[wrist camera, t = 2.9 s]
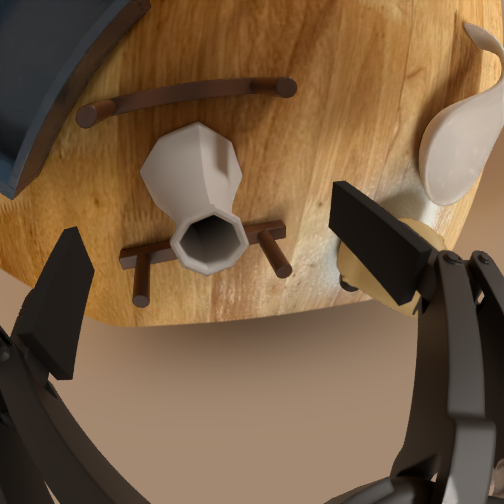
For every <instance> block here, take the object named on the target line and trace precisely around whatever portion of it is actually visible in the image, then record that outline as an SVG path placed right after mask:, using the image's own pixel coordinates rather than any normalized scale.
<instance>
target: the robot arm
mask: <svg viewBox="0 0 504 504" xmlns="http://www.w3.org/2000/svg"><path fill="white" fill-rule="evenodd" d="M329 228H330V229H331V230H332V231H333V232H334V233H335V234H336V235H337V236H338V237H339V238H340V239H341V241H342V242H343V243H344V244H345V245H346V246H347V247H348V248H349V249H350V250H351V251H352V253H353V254H354V255H355V256H356V257H357V258H358V259H359V260H360V261H361V262H362V264H363V265H364V266H365V267H366V268H367V269H368V270H369V272H370V273H371V274H372V275H373V276H374V277H375V278H376V280H377V281H378V282H379V283H380V284H381V285H382V287H383V288H384V289H385V290H386V291H387V293H388V294H389V295H390V296H391V297H392V299H393V300H394V301H395V302H396V303H397V305H398V306H401V305H404V304H406V303H409V302H411V301H412V299H413V297H414V294H415V292H416V291H417V292H418V293H419V294H420V298H419V300H418V302H417V304H416V306H415V308H414V310H413V313H412V315H415V313H416V311H417V310H418V340H417V358H416V370H415V381H414V389H413V396H412V404H411V410H410V417H409V422H408V427H407V432H406V437H405V441H404V445H403V447H402V449H401V451H400V452H399V454H398V455H397V457H396V459H395V461H394V463H393V466H392V470H391V473H390V476H389V477H386V478H384V479H381V480H378V481H375V482H372V483H369V484H366V485H363V486H360V487H357V488H355V489H353V490H351V491H348V492H346V493H344V494H342V495H339V496H337V497H335V498H332V499H330V500H329V501H328V502H326V503H324V504H504V277H503V275H502V274H501V272H500V270H499V269H498V267H497V265H496V264H495V262H494V261H493V259H492V258H491V257H490V256H489V255H488V254H487V253H484V252H483V251H474V252H473V253H472V255H471V257H470V260H462V259H461V258H460V256H458V255H457V254H455V253H454V252H452V251H449V250H440V251H438V250H437V249H436V248H435V247H433V246H432V245H431V244H430V243H429V242H428V241H426V240H425V239H424V238H423V237H422V236H419V234H418V233H417V232H416V231H414V230H413V229H412V228H411V227H410V226H408V225H407V224H406V223H404V222H402V221H400V220H398V219H396V218H395V217H394V216H393V215H391V214H390V213H389V212H388V211H386V210H385V209H384V208H382V207H381V206H380V205H378V204H377V203H376V202H374V201H373V200H372V199H370V198H369V197H367V196H366V195H365V194H363V193H362V192H361V191H359V190H358V189H356V188H355V187H353V186H352V185H351V184H349V183H348V182H346V181H336V182H333V189H332V199H331V209H330V218H329ZM94 272H95V270H94V268H93V265H92V263H91V261H90V258H89V256H88V254H87V251H86V249H85V246H84V244H83V241H82V239H81V236H80V233H79V231H78V228H77V226H76V227H72V228H68V229H64V231H63V233H62V234H61V236H60V238H59V240H58V242H57V243H56V245H55V247H54V249H53V251H52V253H51V255H50V256H49V258H48V260H47V262H46V264H45V266H44V268H43V270H42V273H41V275H40V277H39V279H38V281H37V283H36V285H35V288H34V289H32V290H31V291H30V292H29V294H28V295H27V296H26V298H25V300H24V302H23V305H22V309H20V312H19V316H18V317H17V319H16V322H15V325H14V327H13V331H12V333H11V336H10V337H9V336H8V335H7V334H6V332H5V331H4V330H3V328H2V327H1V326H0V504H55V503H54V501H53V499H52V497H51V495H50V493H49V491H48V488H47V486H46V484H47V485H48V487H49V488H50V490H51V491H52V493H53V494H54V496H55V497H56V499H57V500H58V501H59V503H60V504H151V503H150V502H149V501H147V500H146V499H145V498H144V497H143V496H142V495H141V494H140V493H139V492H138V491H137V490H135V489H134V488H133V487H132V486H131V485H130V484H129V483H128V482H127V481H126V480H125V479H124V478H123V477H122V476H121V475H120V474H119V473H118V471H117V470H115V468H114V467H113V466H112V465H111V464H110V463H109V462H108V461H107V460H106V458H105V457H104V456H103V455H102V454H101V452H100V451H99V450H98V449H97V448H96V447H95V445H94V444H93V443H92V441H91V440H90V439H89V438H88V436H87V435H86V434H85V432H84V431H83V430H82V429H81V427H80V426H79V424H78V423H77V422H76V421H75V419H74V417H73V416H72V415H71V413H70V412H69V410H68V409H67V407H66V406H65V404H64V402H63V401H62V399H61V398H60V396H59V395H58V393H57V391H56V390H55V388H54V386H53V385H52V384H51V382H49V380H48V376H49V372H50V373H51V374H52V375H53V376H54V377H55V378H56V379H57V380H72V379H73V372H74V364H75V357H76V351H77V346H78V340H79V334H80V329H81V325H82V320H83V315H84V311H85V307H86V302H87V298H88V294H89V290H90V287H91V283H92V279H93V276H94ZM482 291H483V293H484V298H483V300H482V301H481V303H479V302H478V300H477V299H478V297H479V296H480V294H481V292H482ZM493 468H494V469H493ZM437 472H438V473H437ZM436 473H437V478H436V482H433V481H431V479H432V477H433V476H434V474H436ZM44 481H45V482H46V484H45V482H44ZM490 485H495V487H494V492H493V494H492V496H488V494H489V489H490Z"/></svg>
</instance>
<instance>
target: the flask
mask: <svg viewBox="0 0 504 504" xmlns="http://www.w3.org/2000/svg"><path fill="white" fill-rule="evenodd" d="M139 172H140V174H141V176H142V179H143V181H144V183H145V185H146V187H147V189H148V191H149V193H150V195H151V197H152V199H153V201H154V203H155V205H156V206H157V207H158V208H160V209H161V210H162V211H163V212H165V213H166V214H167V215H168V216H169V217H170V218H171V219H172V220H173V221H174V222H175V224H176V231H175V233H174V234H173V236H172V238H171V240H170V245H171V247H172V249H173V251H174V252H175V254H176V256H177V258H178V259H179V261H180V263H181V265H182V266H183V267H185V268H187V269H190V270H192V271H195V272H197V273H200V274H202V275H205V276H210V275H212V274H215V273H217V272H219V271H222V270H224V269H227V268H229V267H232V266H233V265H234V264H235V263H236V261H237V260H238V259H239V258H240V256H241V255H242V254H243V252H244V251H245V250H246V248H247V247H248V246H249V242H248V240H247V237H246V234H245V231H244V228H243V226H242V223H241V220H240V218H239V217H237V216H235V215H234V214H232V204H233V201H234V198H235V194H236V191H237V189H238V186H239V184H240V182H241V179H242V173H241V170H240V167H239V164H238V161H237V158H236V154H235V151H234V148H233V145H232V142H231V141H229V140H228V139H226V138H224V137H223V136H221V135H220V134H218V133H216V132H215V131H213V130H212V129H210V128H208V127H207V126H205V125H203V124H202V123H200V122H195V123H193V124H190V125H187V126H185V127H182V128H180V129H178V130H175V131H173V132H170V133H168V134H166V135H163V136H161V137H159V139H158V140H157V142H156V144H155V145H154V147H153V149H152V150H151V152H150V154H149V155H148V157H147V159H146V161H145V162H144V164H143V166H142V168H141V170H140V171H139Z"/></svg>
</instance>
